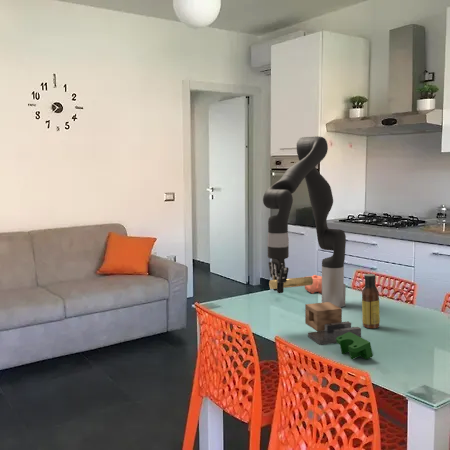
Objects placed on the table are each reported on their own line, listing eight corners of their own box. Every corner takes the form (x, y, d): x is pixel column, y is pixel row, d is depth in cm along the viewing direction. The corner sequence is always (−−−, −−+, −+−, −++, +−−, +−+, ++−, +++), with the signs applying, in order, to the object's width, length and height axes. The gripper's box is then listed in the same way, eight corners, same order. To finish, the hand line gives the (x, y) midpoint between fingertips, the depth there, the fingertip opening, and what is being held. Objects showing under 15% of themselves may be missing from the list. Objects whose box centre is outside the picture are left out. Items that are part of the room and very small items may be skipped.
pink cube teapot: (317, 288, 256) (317, 271, 255) (327, 294, 245) (327, 276, 244) (302, 289, 255) (302, 272, 254) (311, 295, 243) (311, 278, 242)
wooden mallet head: (328, 320, 203) (328, 301, 202) (341, 328, 194) (341, 308, 193) (305, 323, 200) (305, 304, 199) (317, 331, 191) (317, 311, 190)
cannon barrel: (308, 283, 194) (309, 275, 194) (312, 286, 191) (313, 277, 191) (268, 287, 190) (269, 279, 189) (272, 290, 187) (272, 281, 186)
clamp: (343, 365, 170) (332, 338, 172) (358, 358, 172) (347, 332, 173) (360, 364, 159) (348, 335, 160) (376, 356, 161) (364, 328, 162)
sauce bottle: (380, 325, 197) (380, 273, 194) (379, 330, 191) (380, 276, 189) (362, 323, 199) (362, 272, 197) (360, 328, 193) (361, 275, 191)
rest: (347, 331, 189) (348, 321, 189) (361, 339, 181) (361, 328, 180) (307, 336, 185) (307, 325, 184) (319, 345, 176) (319, 333, 176)
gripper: (295, 247, 182) (295, 295, 184) (280, 241, 195) (280, 286, 197) (275, 248, 180) (276, 297, 182) (261, 242, 193) (261, 288, 195)
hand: (278, 291), depth 189 cm, fingers closed on cannon barrel, 3 cm apart
